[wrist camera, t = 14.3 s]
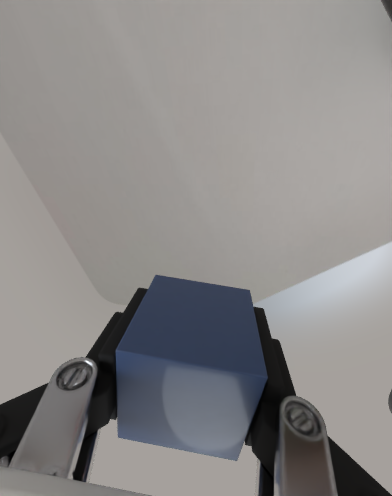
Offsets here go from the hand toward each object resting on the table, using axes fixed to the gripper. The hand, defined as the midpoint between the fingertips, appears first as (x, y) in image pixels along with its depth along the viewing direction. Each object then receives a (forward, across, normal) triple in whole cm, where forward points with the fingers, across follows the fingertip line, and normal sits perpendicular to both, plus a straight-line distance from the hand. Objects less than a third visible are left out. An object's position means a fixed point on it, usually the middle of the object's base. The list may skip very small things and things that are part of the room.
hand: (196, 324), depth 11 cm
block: (0, 0, 0) cm, 0 cm away
